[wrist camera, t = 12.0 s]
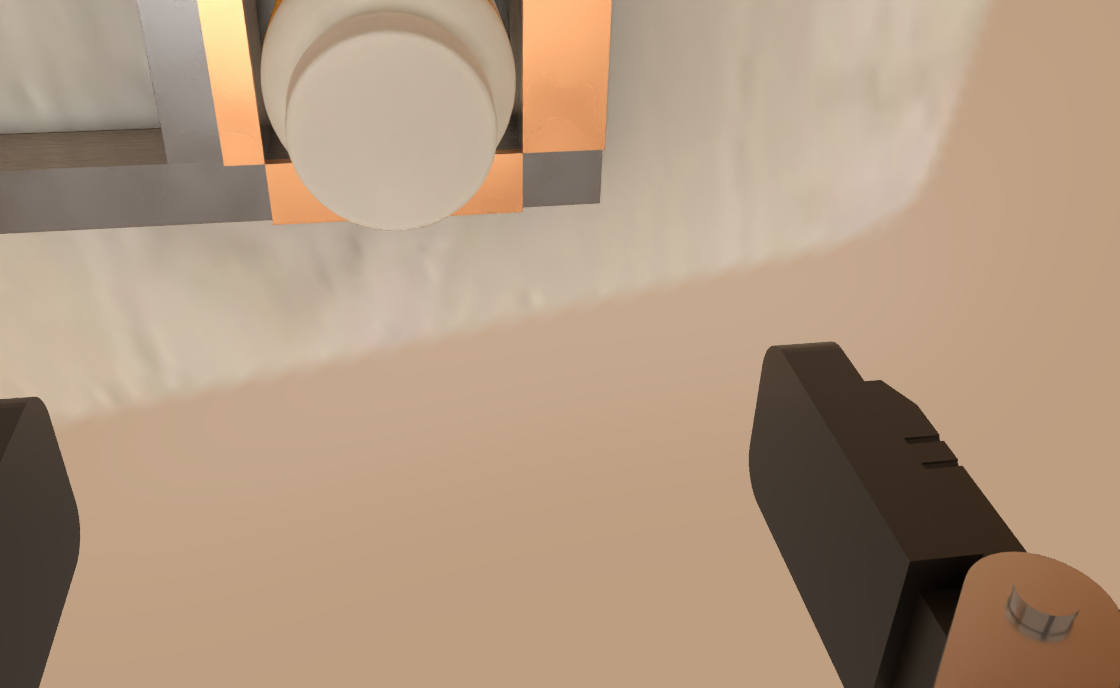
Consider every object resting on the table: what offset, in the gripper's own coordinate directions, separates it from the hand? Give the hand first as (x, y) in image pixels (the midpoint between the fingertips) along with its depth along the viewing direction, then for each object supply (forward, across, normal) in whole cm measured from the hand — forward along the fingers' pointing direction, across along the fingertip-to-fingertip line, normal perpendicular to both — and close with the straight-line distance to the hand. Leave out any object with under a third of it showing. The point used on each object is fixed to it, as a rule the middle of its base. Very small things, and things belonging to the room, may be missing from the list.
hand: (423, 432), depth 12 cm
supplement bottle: (+19, 0, 0) cm, 19 cm away
